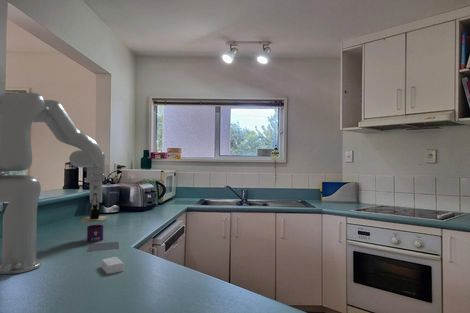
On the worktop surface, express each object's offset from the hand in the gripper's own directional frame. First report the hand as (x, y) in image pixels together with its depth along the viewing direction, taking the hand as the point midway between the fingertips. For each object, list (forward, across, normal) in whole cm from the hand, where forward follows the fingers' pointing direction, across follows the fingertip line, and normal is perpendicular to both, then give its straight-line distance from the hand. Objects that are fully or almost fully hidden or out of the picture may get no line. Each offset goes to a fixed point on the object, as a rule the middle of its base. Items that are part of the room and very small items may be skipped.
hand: (95, 217), depth 144 cm
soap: (+11, -44, -7) cm, 46 cm away
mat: (+11, -14, -4) cm, 18 cm away
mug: (+11, 0, 0) cm, 11 cm away
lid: (+1, 0, 0) cm, 1 cm away
